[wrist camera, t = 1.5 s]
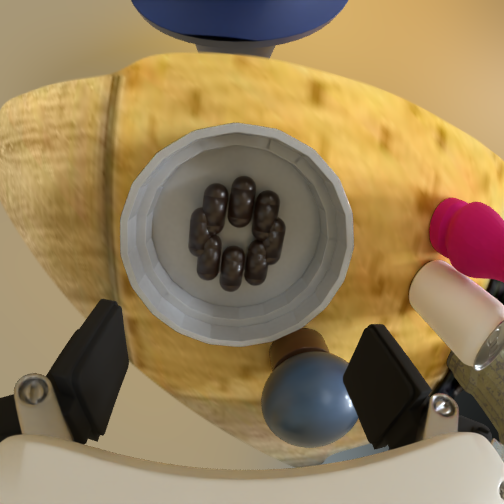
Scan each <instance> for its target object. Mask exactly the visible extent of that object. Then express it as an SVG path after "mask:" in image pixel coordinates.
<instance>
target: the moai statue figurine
mask: <svg viewBox="0 0 504 504" xmlns="http://www.w3.org/2000/svg"><path fill="white" fill-rule="evenodd" d="M447 366H448V367H449V369H450V370H451V371H452V372H453V373H454V377H455V378H456V379H457V381H458V382H459V383H460V385H461V386H462V387H463V389H464V390H465V391H466V392H468V393H470V394H472V395H473V396H474V398H475V399H476V400H477V402H478V403H479V404H480V406H481V407H482V409H483V410H484V411H485V413H486V414H487V416H488V417H489V419H490V420H491V422H492V423H493V425H494V426H495V428H496V429H497V431H498V432H499V440H500V441H501V443H502V444H503V445H504V350H502V351H501V352H500V354H499V355H498V356H497V357H496V358H495V359H494V361H493V362H491V363H490V364H489V365H488V366H487V367H485V368H484V369H482V370H480V371H475V370H474V368H473V367H472V366H468V365H466V364H464V363H463V362H462V361H461V360H460V359H459V358H458V357H457V356H456V355H455V354H454V352H453V351H451V353H450V355H449V357H448V360H447Z"/></svg>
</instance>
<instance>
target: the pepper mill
mask: <svg viewBox="0 0 504 504" xmlns="http://www.w3.org/2000/svg"><path fill="white" fill-rule="evenodd" d="M429 233H430V241H431V244H432V246H433V248H434V249H435V250H436V251H437V252H438V253H440V254H442V255H443V256H445V257H447V258H449V260H450V262H451V264H452V266H453V267H454V268H455V269H456V270H457V271H458V272H460V273H462V274H464V275H466V276H469V277H473V278H488V279H496V280H499V281H502V282H504V220H503V219H502V218H501V217H500V215H499V214H498V213H497V212H496V211H494V210H493V209H492V208H491V207H489V206H487V205H485V204H483V203H481V202H472V203H469V204H468V203H467V202H465V201H462V200H459V199H456V198H448V199H446V200H444V201H443V202H441V203H440V204H439V206H438V207H437V208H436V210H435V212H434V214H433V216H432V219H431V223H430V229H429Z"/></svg>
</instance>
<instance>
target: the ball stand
mask: <svg viewBox="0 0 504 504" xmlns="http://www.w3.org/2000/svg"><path fill="white" fill-rule="evenodd" d="M269 356H270V361H271V367H272V373H271V374H270V376H269V378H268V379H267V381H266V383H265V386H264V388H263V392H262V398H261V406H262V413H263V416H264V419H265V421H266V423H267V425H268V426H269V428H270V430H271V431H272V432H273V433H274V434H275V435H276V436H277V437H279V438H280V439H281V440H283V441H285V442H287V443H289V444H291V445H295V446H298V447H305V448H313V447H320V446H325V445H328V444H330V443H333V442H335V441H337V440H338V439H340V438H341V437H343V436H344V435H345V434H346V433H348V432H349V431H350V430H351V428H352V427H353V426H354V425H355V423H356V422H357V420H358V415H357V413H356V411H355V408H354V406H353V404H352V402H351V399H350V397H349V395H348V392H347V390H346V388H345V386H344V383H343V375H344V373H345V371H346V369H347V366H348V364H349V363H348V362H346V361H345V360H344V359H342V358H340V357H338V356H336V355H334V354H330V352H329V350H328V348H327V345H326V343H325V341H324V339H323V337H322V336H321V334H319V333H318V332H317V331H315V330H312V329H307V328H301V329H299V330H296V331H294V332H292V333H290V334H288V335H286V336H283V337H281V338H279V339H277V340H275V341H274V342H273V344H272V345H271V348H270V351H269Z"/></svg>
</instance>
